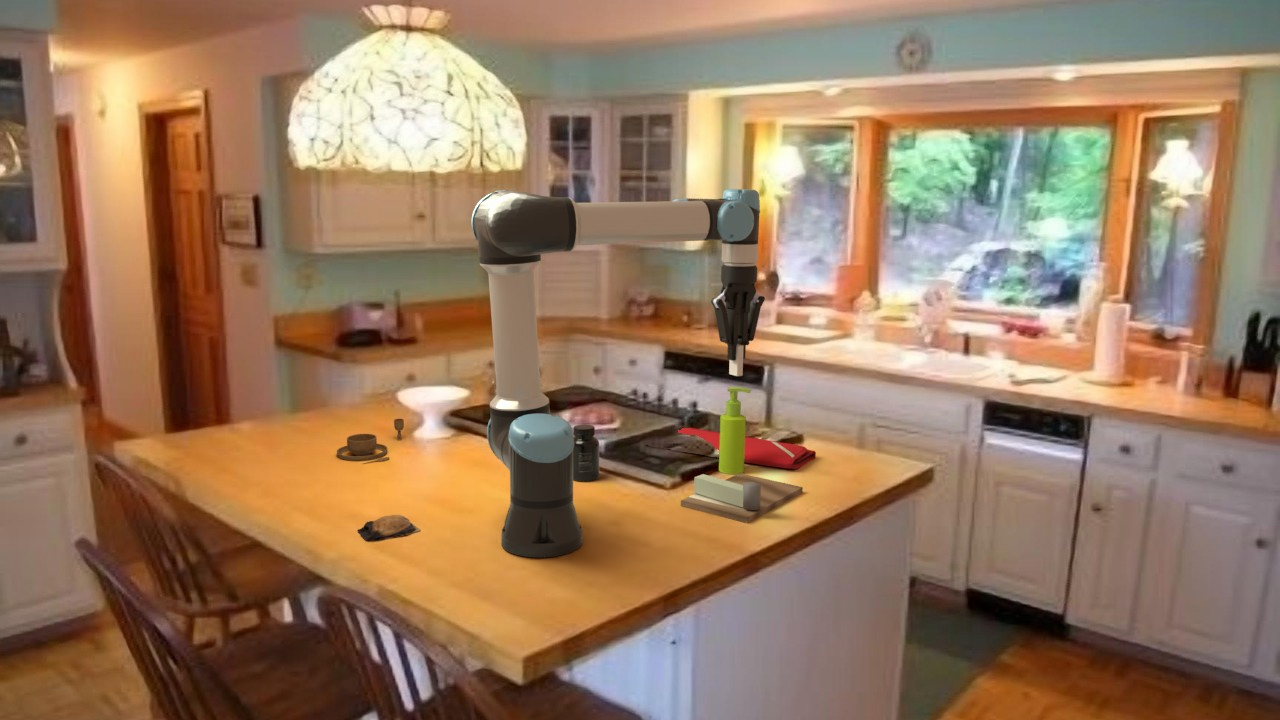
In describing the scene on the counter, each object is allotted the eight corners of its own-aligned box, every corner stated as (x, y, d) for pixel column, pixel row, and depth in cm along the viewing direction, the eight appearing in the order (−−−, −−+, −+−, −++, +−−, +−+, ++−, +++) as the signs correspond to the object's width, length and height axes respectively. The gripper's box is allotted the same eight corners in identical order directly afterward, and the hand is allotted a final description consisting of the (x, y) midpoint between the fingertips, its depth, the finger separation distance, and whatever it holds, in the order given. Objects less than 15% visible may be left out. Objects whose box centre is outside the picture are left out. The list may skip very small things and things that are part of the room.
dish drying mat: (673, 434, 255) (673, 421, 254) (816, 459, 234) (817, 445, 233) (642, 447, 242) (642, 433, 241) (791, 475, 220) (792, 460, 220)
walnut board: (747, 523, 188) (747, 516, 188) (680, 505, 197) (680, 500, 197) (802, 492, 207) (802, 486, 207) (739, 478, 216) (739, 472, 216)
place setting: (325, 451, 235) (324, 428, 233) (401, 439, 246) (400, 417, 245) (351, 469, 221) (350, 444, 220) (430, 455, 233) (430, 432, 232)
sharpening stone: (763, 507, 193) (764, 484, 192) (753, 511, 190) (754, 488, 190) (703, 489, 204) (704, 467, 203) (693, 493, 201) (693, 471, 200)
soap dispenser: (747, 475, 218) (750, 391, 215) (717, 473, 220) (719, 389, 216) (749, 468, 224) (752, 386, 220) (720, 466, 225) (722, 384, 222)
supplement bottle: (604, 475, 217) (604, 425, 215) (590, 484, 211) (590, 432, 209) (578, 471, 220) (578, 421, 218) (563, 479, 214) (563, 428, 211)
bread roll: (406, 522, 188) (405, 504, 187) (423, 535, 181) (422, 516, 180) (353, 533, 182) (352, 515, 181) (369, 546, 175) (368, 528, 174)
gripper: (751, 261, 203) (748, 368, 208) (703, 263, 196) (700, 374, 201) (775, 264, 197) (770, 374, 202) (726, 266, 190) (722, 381, 195)
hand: (735, 374), depth 201 cm, fingers closed
